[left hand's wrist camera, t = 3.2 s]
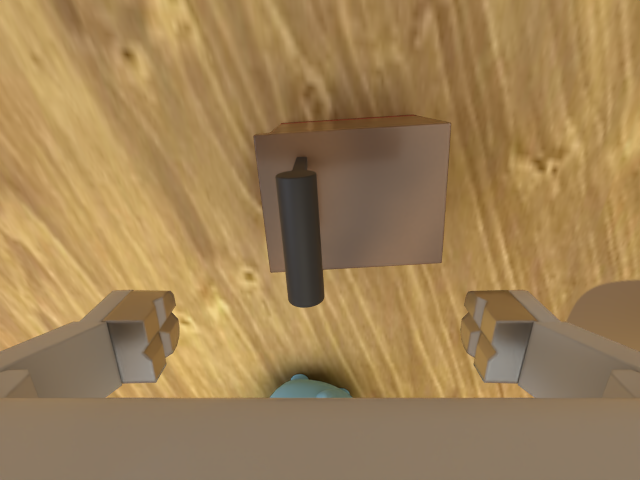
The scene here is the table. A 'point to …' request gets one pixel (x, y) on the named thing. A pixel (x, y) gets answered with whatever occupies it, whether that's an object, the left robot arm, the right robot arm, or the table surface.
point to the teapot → (309, 389)
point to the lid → (351, 200)
